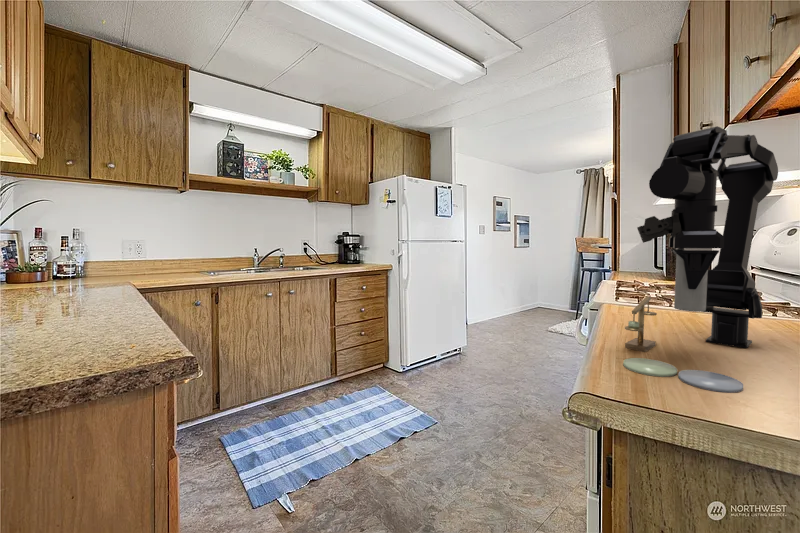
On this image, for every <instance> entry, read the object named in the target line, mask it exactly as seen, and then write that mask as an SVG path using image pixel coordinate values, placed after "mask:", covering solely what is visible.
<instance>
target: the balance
mask: <svg viewBox="0 0 800 533" xmlns="http://www.w3.org/2000/svg"><path fill="white" fill-rule="evenodd" d="M651 297H652V296H649V295H647V296H646V297H644V298H643V299H642V300H641V301H640V302H639V303H638V304H637V305H636V306H635V308H633V309H632V310H631V314H633V316H632V320H629V321H627V322H628V325H625V326H624V330H626V331H630V332H637V337H635V338H633V339H630V340H629V341H626V342H624V349H628V348H629V350H633V351H638V352H639V351H640V352H643V353H645V352H648V351H649V350H651V349H653V348H654V347H656V341H655V340H652V339H651V340H649V339H646V338H645V339H644V333H645V332H644V331H645V328H644V327H645V316H657V315H658V313H657V312H654V311H650V301H651V300H652V299H651ZM646 305H647V310H646V311H645V306H646ZM636 315H638V317H637V321H635V320H636Z"/></svg>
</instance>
